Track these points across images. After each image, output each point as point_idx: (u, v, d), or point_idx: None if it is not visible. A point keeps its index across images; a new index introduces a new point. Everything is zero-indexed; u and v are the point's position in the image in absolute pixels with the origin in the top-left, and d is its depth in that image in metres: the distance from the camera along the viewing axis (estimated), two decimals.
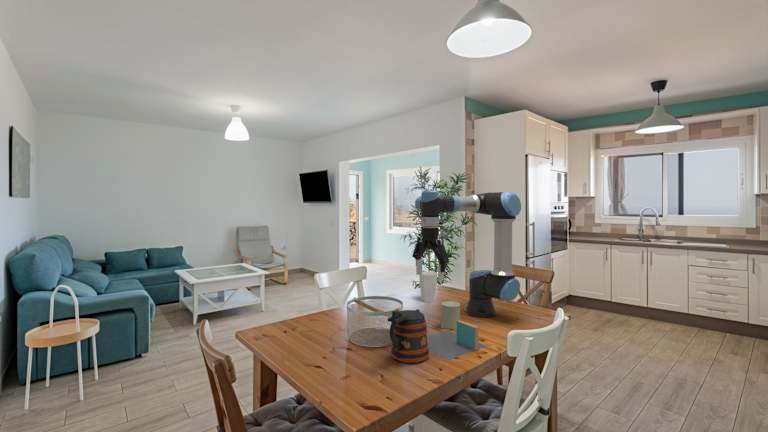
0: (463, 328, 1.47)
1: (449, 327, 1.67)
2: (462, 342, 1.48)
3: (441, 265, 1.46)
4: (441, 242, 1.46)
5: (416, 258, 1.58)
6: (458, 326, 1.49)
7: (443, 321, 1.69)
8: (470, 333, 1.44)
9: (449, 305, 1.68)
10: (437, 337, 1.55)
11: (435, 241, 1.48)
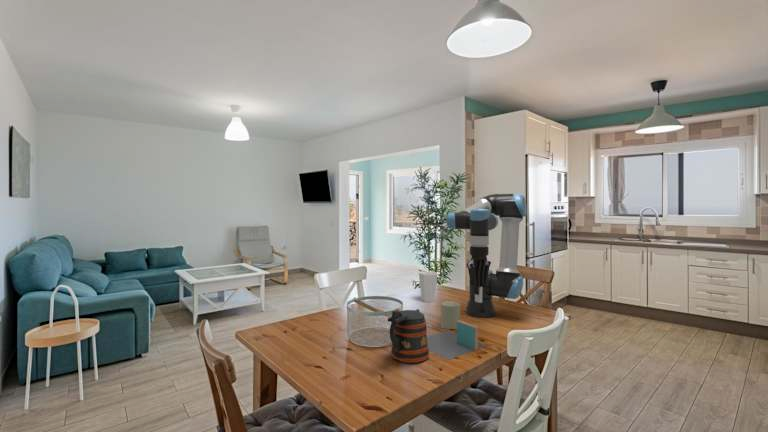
0: (463, 328, 1.47)
1: (449, 327, 1.67)
2: (462, 342, 1.48)
3: None
4: (469, 267, 1.47)
5: None
6: (458, 326, 1.49)
7: (443, 321, 1.69)
8: (470, 333, 1.44)
9: (449, 305, 1.68)
10: (437, 337, 1.55)
11: (471, 261, 1.48)
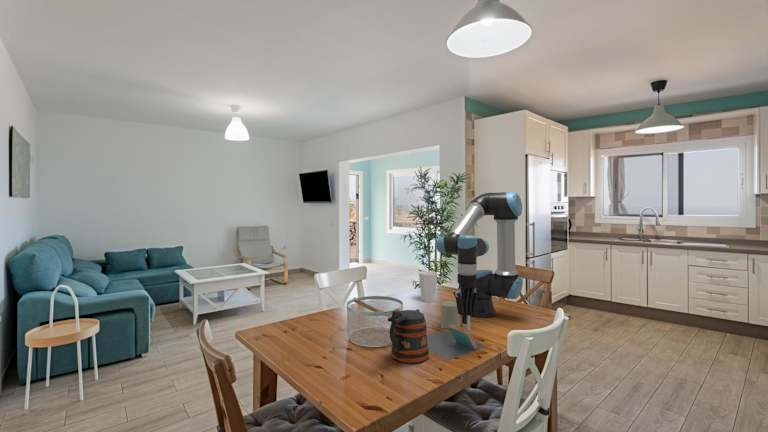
0: (456, 332, 1.45)
1: None
2: (461, 343, 1.48)
3: None
4: (456, 296, 1.43)
5: None
6: (452, 330, 1.47)
7: (443, 321, 1.69)
8: (464, 337, 1.43)
9: (449, 305, 1.68)
10: (437, 337, 1.55)
11: None
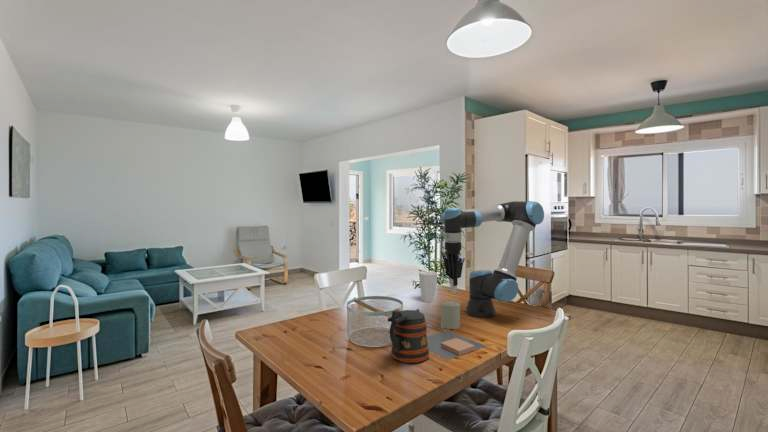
0: None
1: (449, 327, 1.67)
2: None
3: (454, 279, 1.65)
4: (462, 261, 1.61)
5: (450, 276, 1.67)
6: None
7: (443, 321, 1.69)
8: None
9: (449, 305, 1.68)
10: (437, 337, 1.55)
11: (457, 256, 1.62)
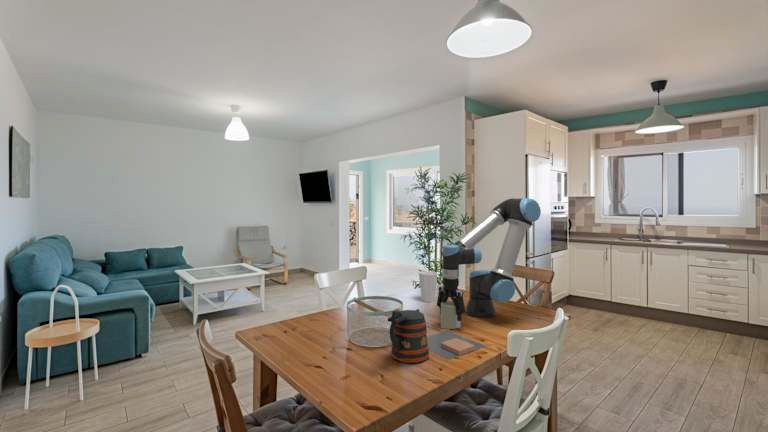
0: None
1: (449, 327, 1.67)
2: None
3: (458, 315, 1.66)
4: (461, 294, 1.65)
5: (440, 307, 1.75)
6: None
7: (443, 321, 1.69)
8: None
9: (449, 305, 1.68)
10: (437, 337, 1.55)
11: (456, 292, 1.67)
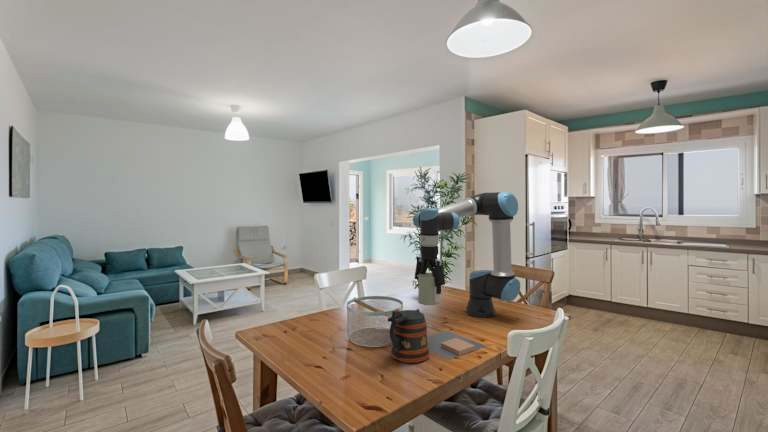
0: None
1: (427, 301, 1.46)
2: None
3: (437, 287, 1.45)
4: (440, 263, 1.45)
5: None
6: None
7: (420, 294, 1.48)
8: None
9: (427, 276, 1.48)
10: (437, 337, 1.55)
11: (434, 261, 1.46)
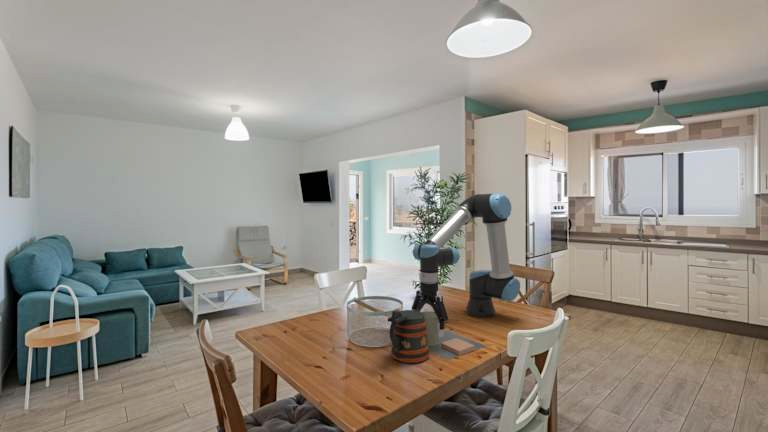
0: None
1: (427, 341, 1.47)
2: None
3: (440, 323, 1.44)
4: (440, 299, 1.45)
5: None
6: None
7: None
8: None
9: (427, 316, 1.48)
10: None
11: (434, 297, 1.47)
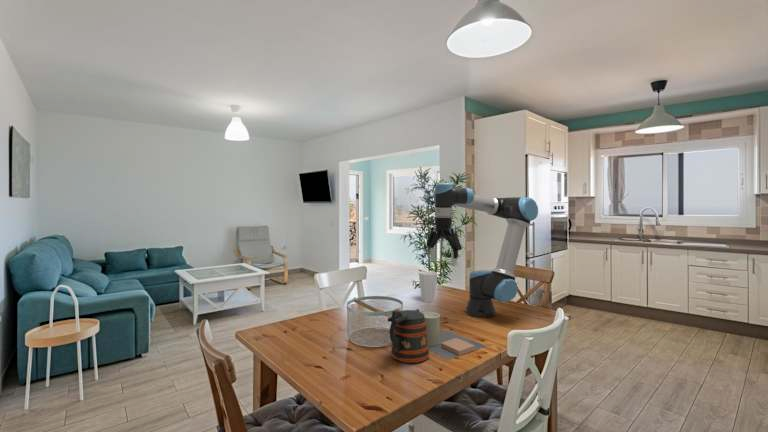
0: None
1: (427, 342, 1.47)
2: None
3: (454, 252, 1.58)
4: (454, 231, 1.58)
5: (430, 246, 1.69)
6: None
7: None
8: None
9: (427, 316, 1.48)
10: None
11: (448, 230, 1.60)
